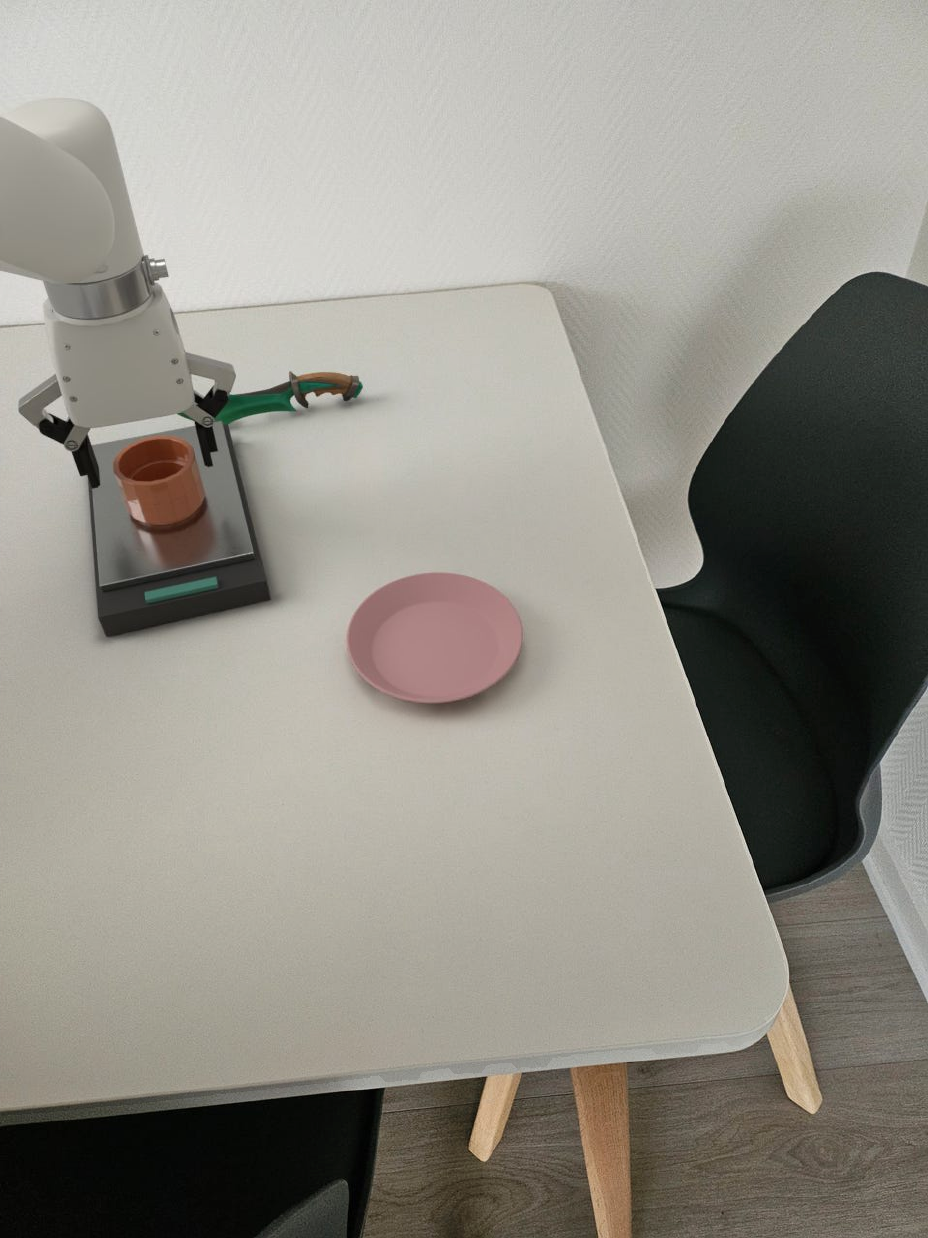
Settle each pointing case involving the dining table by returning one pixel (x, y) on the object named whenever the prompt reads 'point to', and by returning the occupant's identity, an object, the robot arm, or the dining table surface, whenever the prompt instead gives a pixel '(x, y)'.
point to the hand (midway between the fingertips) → (152, 468)
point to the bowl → (159, 480)
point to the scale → (174, 546)
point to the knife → (287, 395)
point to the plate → (434, 637)
